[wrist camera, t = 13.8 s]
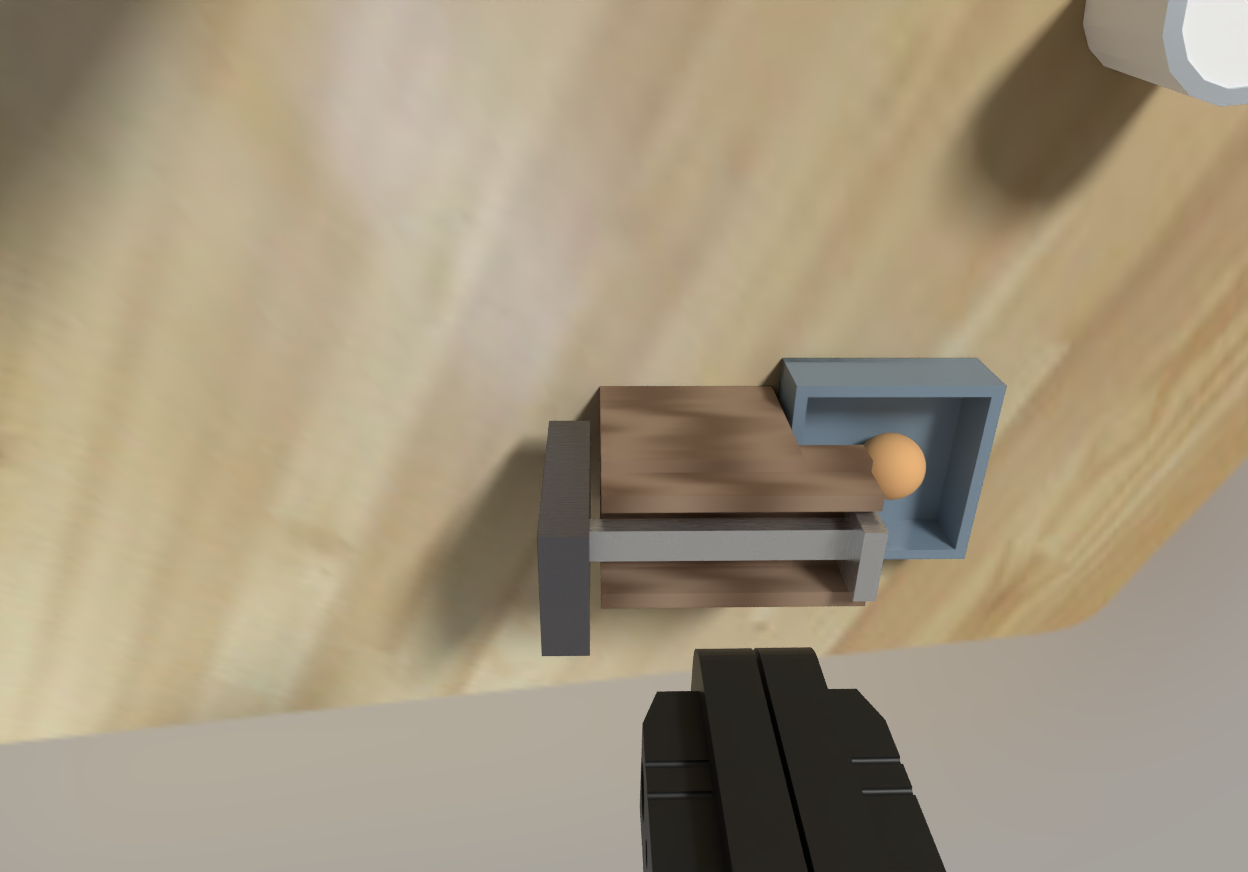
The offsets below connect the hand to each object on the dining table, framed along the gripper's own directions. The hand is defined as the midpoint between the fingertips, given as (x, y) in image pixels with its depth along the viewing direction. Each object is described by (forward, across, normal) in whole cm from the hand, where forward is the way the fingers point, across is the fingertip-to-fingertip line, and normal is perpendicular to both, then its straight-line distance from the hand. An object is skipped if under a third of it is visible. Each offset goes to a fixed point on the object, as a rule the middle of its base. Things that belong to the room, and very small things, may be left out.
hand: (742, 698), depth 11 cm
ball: (+30, -14, +14) cm, 35 cm away
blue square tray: (+32, -13, +14) cm, 37 cm away
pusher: (+29, -3, +13) cm, 32 cm away
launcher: (+32, -4, +14) cm, 35 cm away
